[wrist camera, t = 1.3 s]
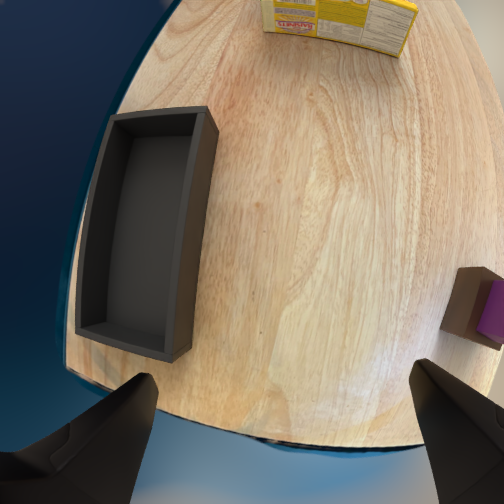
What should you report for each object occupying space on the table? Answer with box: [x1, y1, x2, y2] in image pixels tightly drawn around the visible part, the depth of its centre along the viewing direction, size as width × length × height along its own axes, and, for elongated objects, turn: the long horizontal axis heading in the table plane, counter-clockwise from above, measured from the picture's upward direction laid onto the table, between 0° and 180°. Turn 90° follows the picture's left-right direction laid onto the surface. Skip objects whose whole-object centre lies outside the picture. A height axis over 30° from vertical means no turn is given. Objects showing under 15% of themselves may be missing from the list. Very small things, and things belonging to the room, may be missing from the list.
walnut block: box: [440, 267, 504, 351], centre depth 18 cm, size 6×6×4 cm
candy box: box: [260, 0, 418, 58], centre depth 19 cm, size 16×2×8 cm, turn 79°
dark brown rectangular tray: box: [75, 106, 219, 363], centre depth 21 cm, size 19×9×4 cm, turn 174°
